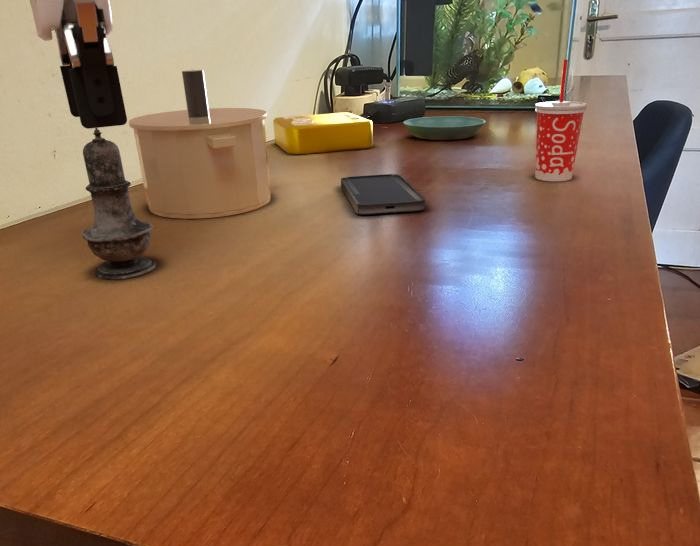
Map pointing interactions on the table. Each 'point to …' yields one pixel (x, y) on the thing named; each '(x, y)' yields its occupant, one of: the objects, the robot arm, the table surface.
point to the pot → (204, 170)
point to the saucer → (444, 127)
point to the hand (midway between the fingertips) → (97, 120)
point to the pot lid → (197, 111)
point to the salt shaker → (114, 215)
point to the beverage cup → (557, 136)
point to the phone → (381, 194)
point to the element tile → (323, 133)
